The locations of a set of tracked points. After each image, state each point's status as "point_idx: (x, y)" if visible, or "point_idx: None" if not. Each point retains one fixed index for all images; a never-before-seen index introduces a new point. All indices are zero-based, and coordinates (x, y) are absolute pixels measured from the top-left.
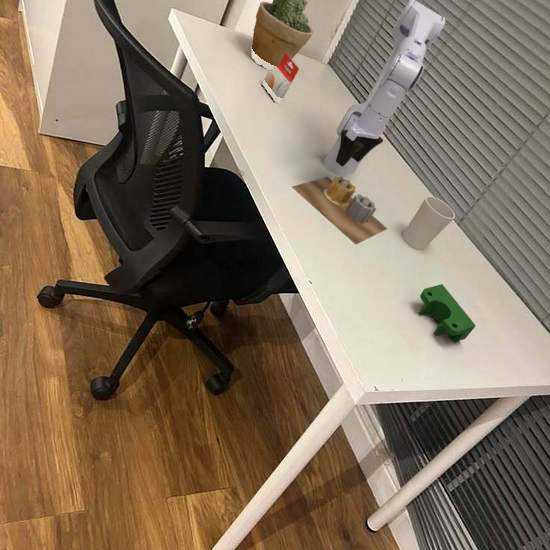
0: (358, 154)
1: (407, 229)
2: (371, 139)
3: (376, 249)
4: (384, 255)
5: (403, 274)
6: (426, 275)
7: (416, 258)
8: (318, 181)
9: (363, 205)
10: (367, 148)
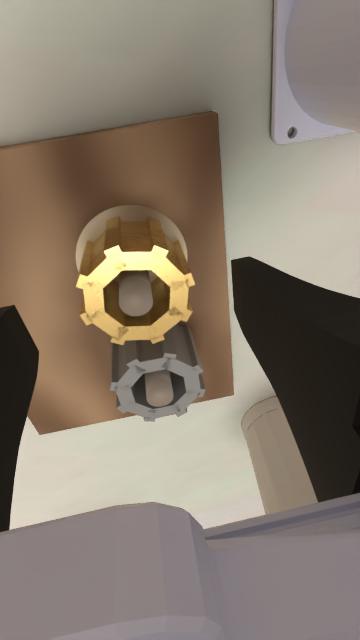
0: (249, 314)
1: (266, 438)
2: (326, 466)
3: (131, 426)
4: (140, 439)
5: (145, 475)
6: (213, 478)
7: (240, 447)
8: (111, 148)
9: (129, 402)
10: (283, 396)
